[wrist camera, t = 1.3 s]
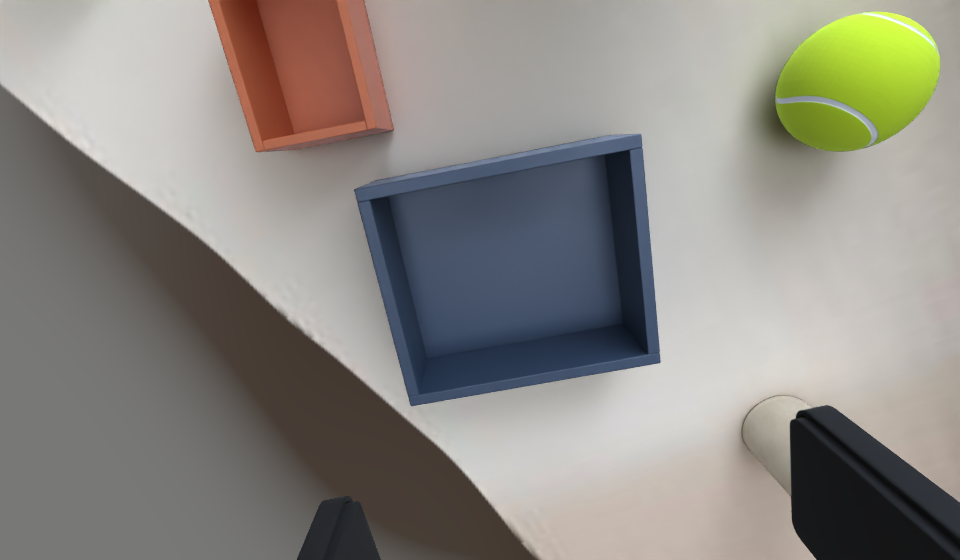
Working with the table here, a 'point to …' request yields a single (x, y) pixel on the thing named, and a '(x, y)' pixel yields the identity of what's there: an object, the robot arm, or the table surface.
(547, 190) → the big tote
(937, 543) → the robot arm
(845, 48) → the tennis ball
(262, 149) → the small tote
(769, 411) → the candle
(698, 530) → the table surface
